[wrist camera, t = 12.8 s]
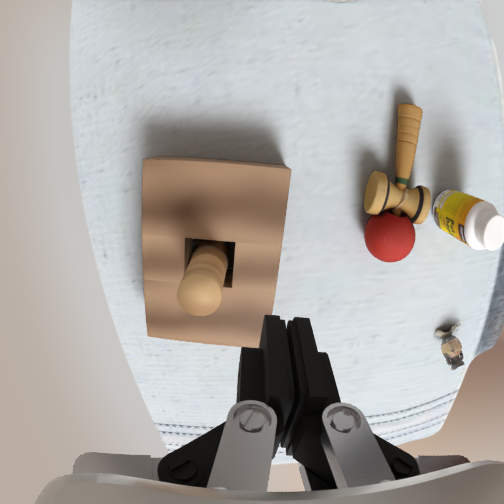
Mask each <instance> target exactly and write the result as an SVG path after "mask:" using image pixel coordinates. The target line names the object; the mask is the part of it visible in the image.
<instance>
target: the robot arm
mask: <svg viewBox="0 0 504 504" xmlns="http://www.w3.org/2000/svg"><path fill="white" fill-rule="evenodd" d="M327 1H331V2H340V3H343V2H354V1H359V0H327ZM279 444H281V447H282V448H286V455H293V458H294V459H295V460H297V461H298V462H299V470H300V474H301V477H302V481H303V484H304V488H305V491H304V492H303V491H302V492H267V486H268V480H269V473H270V467H271V461H272V459H273V458H274V457H275V454H276V452H277V449H278V446H279ZM35 504H504V462H500V461H489V460H486V461H475V462H470V461H469V460H468V459H467V458H465V457H464V456H460V455H448V456H418V457H417V458H414V457H412V456H411V455H410V454H408V453H406V452H405V451H403V450H401V449H399V448H398V447H396V446H394V445H392V444H391V443H389V442H387V441H385V440H384V439H382V438H380V437H379V436H377V435H375V434H374V433H373V432H372V430H371V428H370V426H369V424H368V422H367V420H366V418H365V416H364V415H363V413H362V412H361V411H360V410H359V409H358V408H357V407H355V406H353V405H351V404H347V403H341V401H340V397H339V393H338V389H337V386H336V382H335V378H334V375H333V371H332V367H331V364H330V360H329V357H328V354H327V353H326V352H318V350H317V346H316V342H315V338H314V334H313V331H312V327H311V323H310V319H309V318H300V317H294V319H293V321H291V320H289V321H288V324H287V328H286V324H285V320H280V316H277V315H266V314H265V316H264V320H263V326H262V332H261V338H260V343H259V348H250V347H242V348H241V355H240V362H239V372H238V384H237V402H236V404H235V405H234V406H233V407H232V408H231V409H230V411H229V413H228V416H227V420H226V421H225V422H224V423H222V424H221V425H219V426H217V427H216V428H214V429H212V430H210V431H209V432H207V433H205V434H204V435H202V436H200V437H198V438H197V439H195V440H193V441H191V442H190V443H188V444H186V445H184V446H182V447H180V448H179V449H177V450H175V451H173V452H171V453H169V454H168V455H166V456H165V457H163V458H151V456H150V455H124V454H108V453H97V452H90V453H85V454H82V455H80V456H79V457H78V458H77V459H76V460H75V464H74V466H73V474H70V475H64V476H61V477H58V478H56V479H54V480H52V481H51V482H50V483H48V484H47V485H46V487H45V488H44V489H43V490H42V492H41V493H40V495H39V496H38V498H37V500H36V502H35Z"/></svg>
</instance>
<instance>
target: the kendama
mask: <svg viewBox="0 0 504 504" xmlns="http://www.w3.org/2000/svg"><path fill="white" fill-rule="evenodd" d="M421 118H422V109H421V108H419V107H418V106H415V105H412V104H400V105H398V130H397V133H398V134H397V146H396V175H395V185H394V184H392V183H391V182H390V180H389V179H388V177H387V176H386V174H385V173H383V172H379V171H374V172H373V173H372V174H371V175H370V177H369V180H368V183H367V187H366V191H365V196H364V209H365V212H366V213H369V214H373V216H372V217H371V218H370V220H369V221H368V223H367V225H366V228H365V235H364V237H365V243H366V246H367V248H368V250H369V252H370V253H371V254H372V255H373V256H374V257H376V258H377V259H379V260H381V261H384V262H396V261H400V260H402V259H403V258H405V257H406V256H407V255H408V254H409V253H410V251H411V250H412V248H413V246H414V243H415V229H414V226H413V223H414V224H421V223H423V222H424V221H425V219H426V217H427V215H428V213H429V210H430V206H431V194H430V191H429V189H428V188H426V187H424V186H421V185H419V186H417V187H415V188H413V189H408V188H407V183H408V180H409V177H410V173H411V170H412V166H413V162H414V158H415V153H416V147H417V146H416V145H417V141H418V135H419V129H420V123H421Z"/></svg>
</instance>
